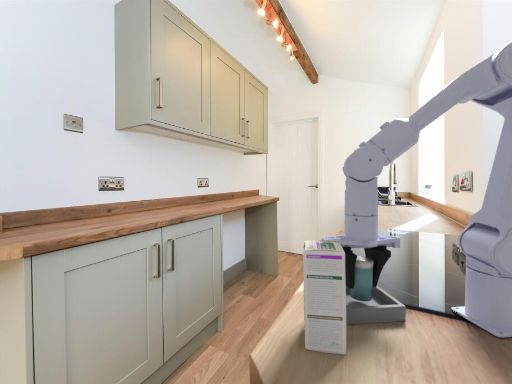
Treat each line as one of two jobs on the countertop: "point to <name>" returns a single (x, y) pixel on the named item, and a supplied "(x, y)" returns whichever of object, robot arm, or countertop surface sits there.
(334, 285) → the syrup box
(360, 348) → the countertop surface
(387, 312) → the tray
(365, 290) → the shaker
